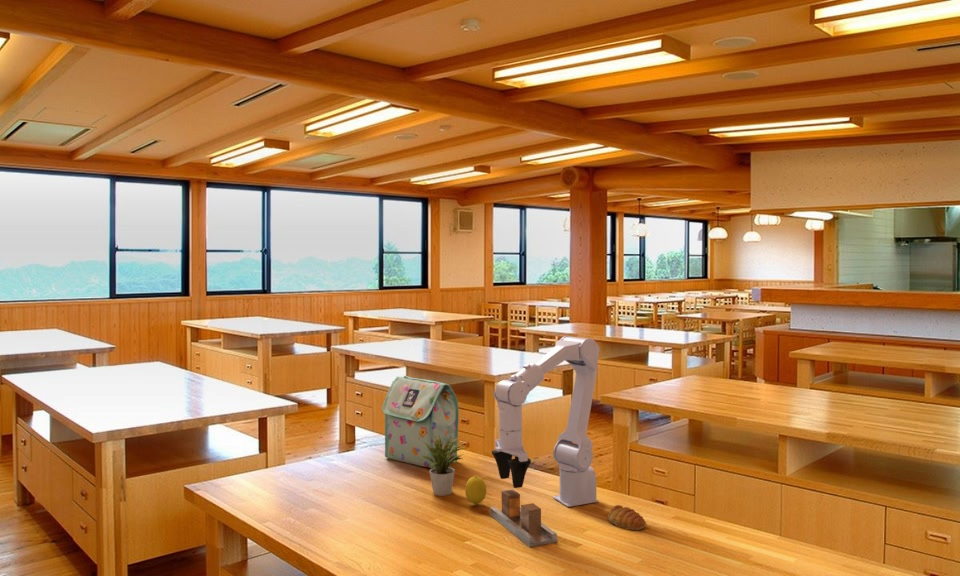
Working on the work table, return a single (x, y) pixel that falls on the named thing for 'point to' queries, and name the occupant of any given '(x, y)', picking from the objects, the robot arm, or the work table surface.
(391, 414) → the lunch bag
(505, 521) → the rail
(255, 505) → the work table surface
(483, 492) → the lemon
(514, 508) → the brown rectangular block
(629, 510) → the pastry
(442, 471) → the house plant
